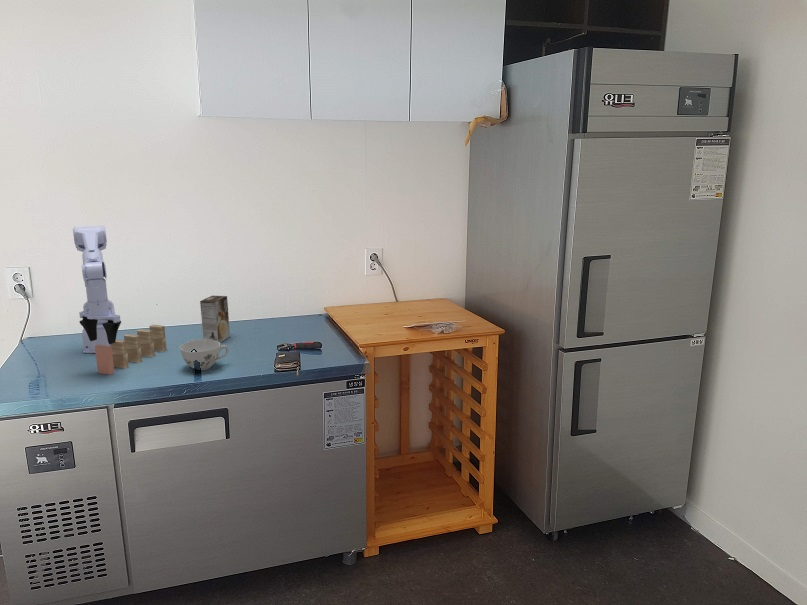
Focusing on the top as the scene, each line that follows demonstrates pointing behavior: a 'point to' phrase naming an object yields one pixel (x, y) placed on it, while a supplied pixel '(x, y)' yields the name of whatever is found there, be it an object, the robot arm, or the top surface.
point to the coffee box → (215, 318)
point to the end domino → (104, 359)
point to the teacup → (202, 352)
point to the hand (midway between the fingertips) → (102, 341)
